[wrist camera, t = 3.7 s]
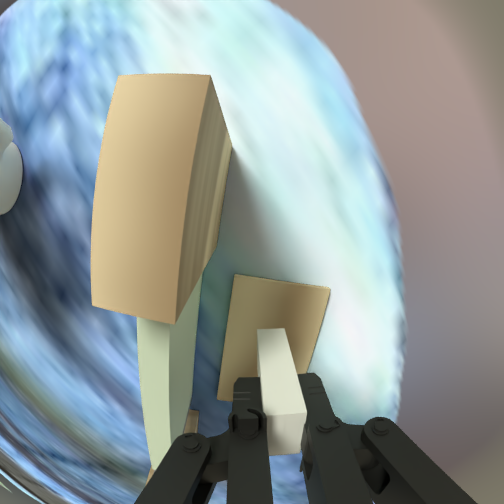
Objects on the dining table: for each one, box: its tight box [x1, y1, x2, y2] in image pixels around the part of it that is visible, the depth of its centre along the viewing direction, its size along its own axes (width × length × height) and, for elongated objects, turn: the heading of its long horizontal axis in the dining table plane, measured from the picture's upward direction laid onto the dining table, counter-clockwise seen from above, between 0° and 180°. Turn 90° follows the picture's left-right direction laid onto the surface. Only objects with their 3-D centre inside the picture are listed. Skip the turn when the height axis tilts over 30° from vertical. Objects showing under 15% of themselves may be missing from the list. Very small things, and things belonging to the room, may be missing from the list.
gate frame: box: [91, 74, 330, 485], centre depth 13 cm, size 10×25×10 cm, turn 171°
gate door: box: [137, 272, 203, 474], centre depth 13 cm, size 12×1×8 cm, turn 171°
